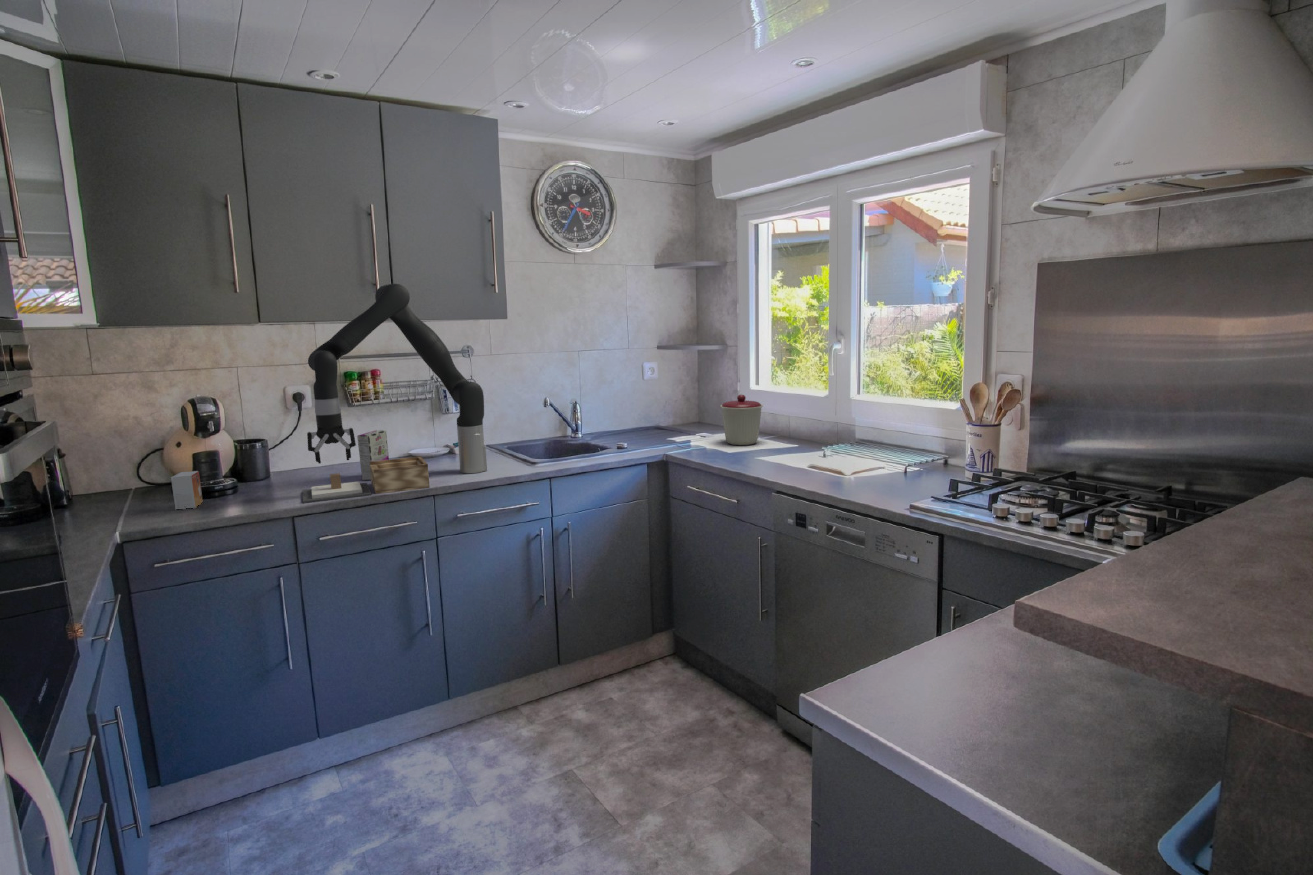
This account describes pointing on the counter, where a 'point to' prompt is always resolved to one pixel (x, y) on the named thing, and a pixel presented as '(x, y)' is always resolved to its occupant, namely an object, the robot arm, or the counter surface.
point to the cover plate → (336, 488)
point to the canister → (741, 421)
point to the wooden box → (399, 474)
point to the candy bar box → (372, 450)
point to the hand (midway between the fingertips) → (333, 461)
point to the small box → (186, 490)
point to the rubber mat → (308, 496)
